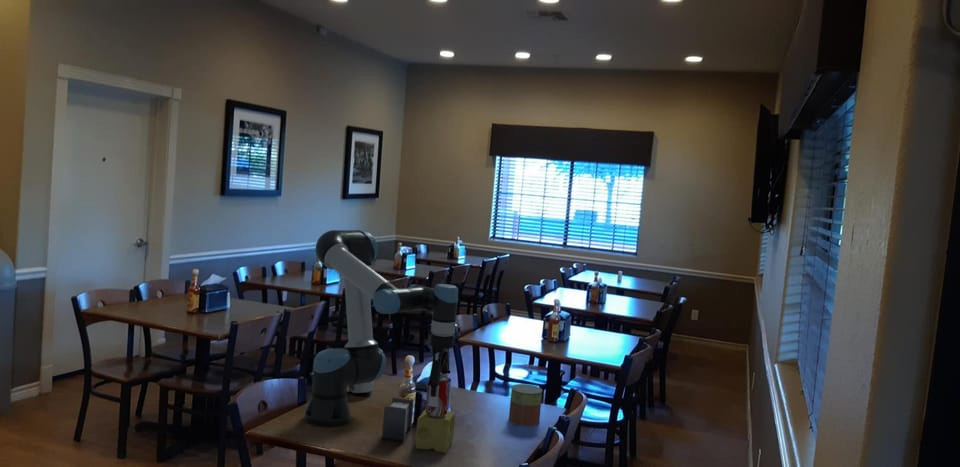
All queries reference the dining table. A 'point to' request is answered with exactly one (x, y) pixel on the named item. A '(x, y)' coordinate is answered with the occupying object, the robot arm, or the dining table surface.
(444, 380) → the soda can
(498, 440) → the dining table surface
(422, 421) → the cheese
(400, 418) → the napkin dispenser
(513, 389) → the canned food
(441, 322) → the robot arm
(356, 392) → the spread jar
